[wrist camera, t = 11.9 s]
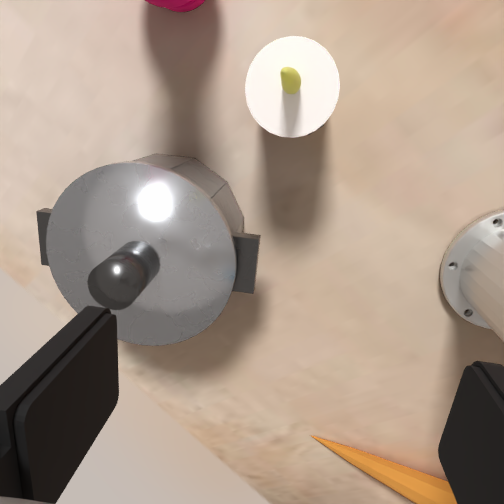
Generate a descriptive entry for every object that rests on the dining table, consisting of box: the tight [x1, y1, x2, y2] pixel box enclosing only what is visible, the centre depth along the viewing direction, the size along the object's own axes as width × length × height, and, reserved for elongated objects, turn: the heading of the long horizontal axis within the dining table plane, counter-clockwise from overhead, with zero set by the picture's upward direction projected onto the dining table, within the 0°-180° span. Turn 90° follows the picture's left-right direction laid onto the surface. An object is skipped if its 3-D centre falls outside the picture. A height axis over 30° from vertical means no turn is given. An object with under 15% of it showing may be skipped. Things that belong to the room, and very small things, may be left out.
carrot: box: [310, 435, 457, 504], centre depth 48 cm, size 20×4×4 cm, turn 69°
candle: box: [245, 36, 340, 138], centre depth 29 cm, size 6×6×15 cm
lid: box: [46, 161, 237, 346], centre depth 31 cm, size 16×16×8 cm
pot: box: [37, 154, 260, 294], centre depth 38 cm, size 19×15×9 cm
